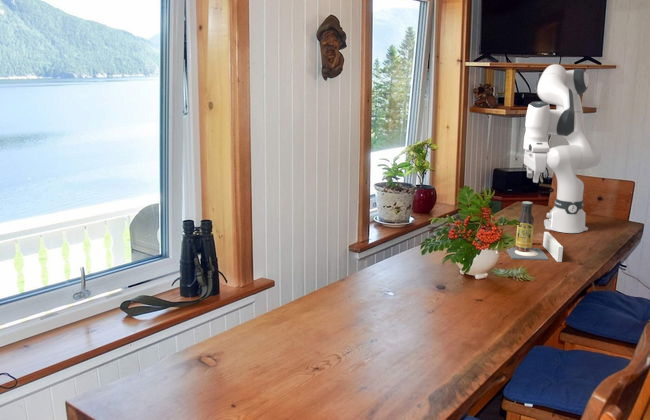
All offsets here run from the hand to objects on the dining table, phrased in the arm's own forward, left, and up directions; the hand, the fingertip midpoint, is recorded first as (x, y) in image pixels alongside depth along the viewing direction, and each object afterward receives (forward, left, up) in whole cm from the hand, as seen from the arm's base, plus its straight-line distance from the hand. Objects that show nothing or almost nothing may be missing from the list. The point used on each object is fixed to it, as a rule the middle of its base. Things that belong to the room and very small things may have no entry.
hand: (532, 180), depth 240 cm
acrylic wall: (-2, +11, -30) cm, 32 cm away
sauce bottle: (-3, 0, -30) cm, 30 cm away
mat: (0, 0, -30) cm, 30 cm away
